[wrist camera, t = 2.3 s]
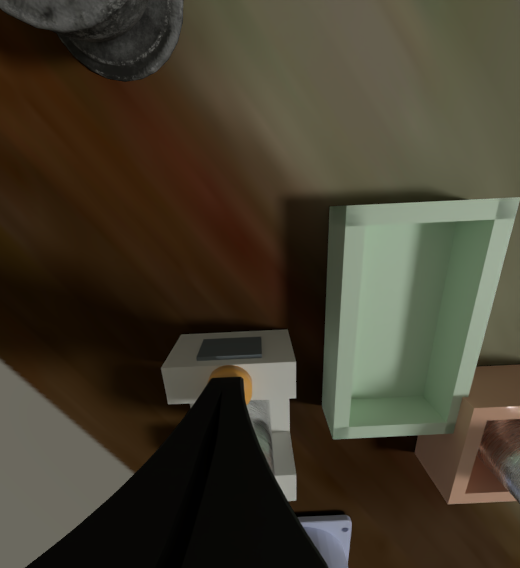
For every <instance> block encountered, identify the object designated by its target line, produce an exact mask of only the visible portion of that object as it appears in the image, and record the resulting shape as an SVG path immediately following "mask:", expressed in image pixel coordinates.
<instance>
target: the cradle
mask: <svg viewBox="0 0 520 568" xmlns="http://www.w3.org/2000/svg"><path fill="white" fill-rule="evenodd" d="M161 371H162V376H163V381H164V386H165V391H166V396H167V401H168V404H187V403H190V408H191V407H192V406H193V404H194V403H195V402H196V400H197V399H198V397H199V396H200V394H201V393H202V391H203V390H204V388H205V387H206V385H207V384H208V382H209V380H210V379H211V378H221V377H242V378H243V379H244V392H245V401H246V405H247V404H248V403H249V402H250V400H269V402H270V416H271V431H272V446H273V461H274V475H275V478H276V480H277V482H278V484H279V486H280V488H281V489H282V491H283V493H284V495H285V497H286V499H287V501H296V470H295V464H294V457H293V450H292V444H291V437H290V416H289V399H292V398H296V360H295V356H294V352H293V348H292V344H291V340H290V337H289V333H288V329H285V330H264V331H243V332H223V333H202V334H181V336H180V337H179V339H178V341H177V342H176V344H175V346H174V347H173V349H172V351H171V352H170V354H169V356H168V357H167V359H166V361H165V362H164V364H163V366H162V367H161Z"/></svg>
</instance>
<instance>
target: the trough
mask: <svg viewBox="0 0 520 568" xmlns="http://www.w3.org/2000/svg"><path fill="white" fill-rule="evenodd" d="M519 201H520V197H517V198H495V199H473V200H452V201H431V202H410V203H389V204H368V205H348V206H330V208H329V234H328V260H327V286H326V312H325V338H324V364H323V389H322V408H323V411H324V414H325V417H326V420H327V423H328V426H329V429H330V432H331V435H332V438H333V439H350V438H371V437H392V436H412V435H433V434H453V433H454V429H455V425H456V421H457V417H458V413H459V409H460V405H461V401H462V397H468V396H469V392H470V389H471V385H472V381H473V377H474V373H475V369H476V366H477V362H478V358H479V354H480V350H481V346H482V343H483V339H484V335H485V331H486V327H487V323H488V320H489V316H490V312H491V308H492V304H493V300H494V297H495V293H496V289H497V285H498V281H499V277H500V274H501V270H502V266H503V262H504V258H505V254H506V251H507V247H508V243H509V239H510V235H511V232H512V228H513V224H514V220H515V216H516V212H517V209H518V205H519Z"/></svg>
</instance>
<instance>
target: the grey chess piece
mask: <svg viewBox="0 0 520 568" xmlns="http://www.w3.org/2000/svg"><path fill="white" fill-rule="evenodd" d="M0 9H2V10H3V11H4V12H5V13H7V14H8V15H10V16H13V17H15V18H17V19H19V20H21V21H23V22H25V23H27V24H29V25H31V26H33V27H35V28H40V29H46V30H51V31H53V32H55V33H57V34H58V36H59V38H60V40H61V41H62V42H63V43H64V45H65V46H66V47H67V48H68V50H69V51H70V52H71V53H72V55H73V56H74V57H75V58H77V59H78V60H79V61H80V62H81V63H83V64H84V65H85V66H86V67H88V68H89V69H90V70H91V71H93V72H95V73H97V74H100V75H102V76H104V77H106V78H108V79H113V80H119V81H125V82H126V81H132V80H139V79H143V78H145V77H147V76H149V75H151V74H153V73H154V72H156V71H157V70H158V69H159V68H160V67H161V66H162V65H163V64H164V63H165V62H166V61H167V60H168V59H169V57H170V55H171V54H172V52H173V50H174V48H175V46H176V44H177V43H178V39H179V35H180V31H181V27H182V23H183V0H0Z"/></svg>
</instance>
